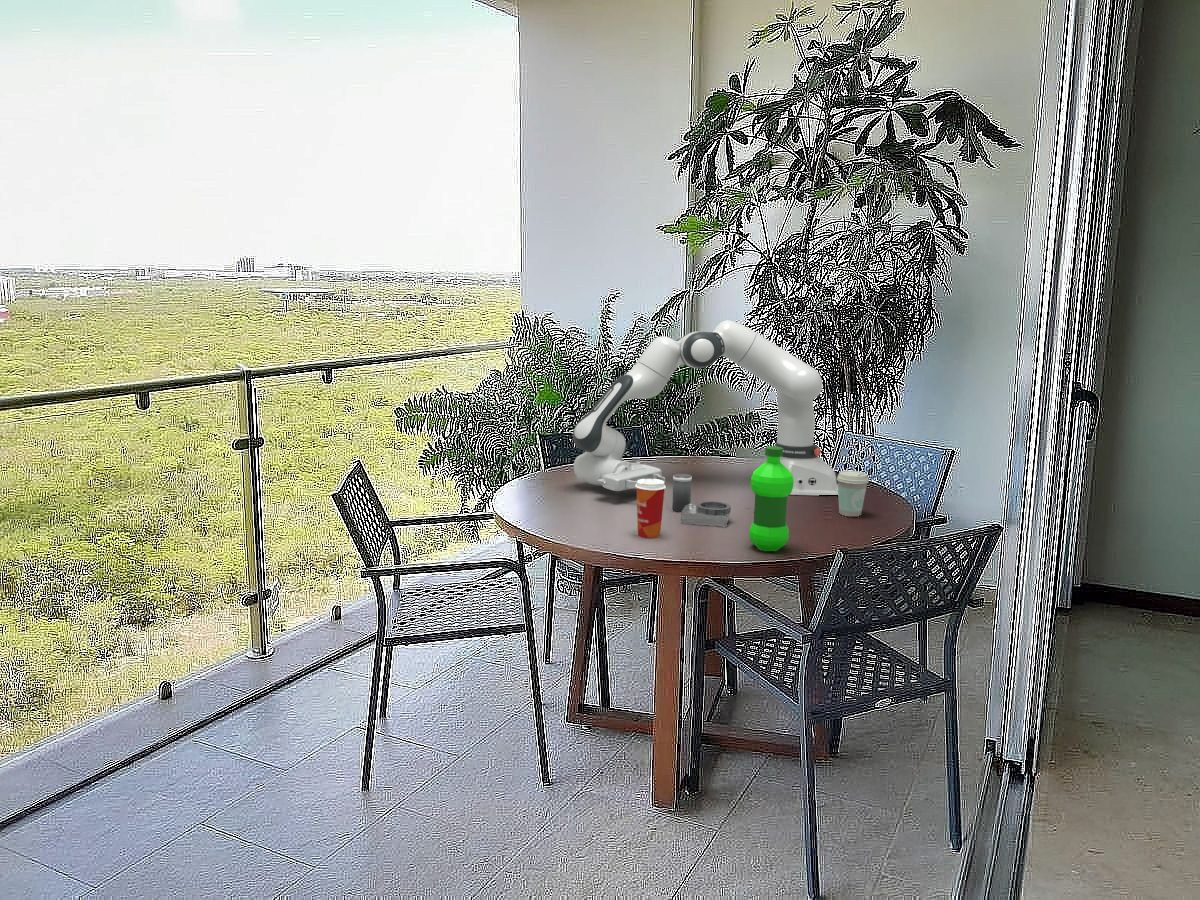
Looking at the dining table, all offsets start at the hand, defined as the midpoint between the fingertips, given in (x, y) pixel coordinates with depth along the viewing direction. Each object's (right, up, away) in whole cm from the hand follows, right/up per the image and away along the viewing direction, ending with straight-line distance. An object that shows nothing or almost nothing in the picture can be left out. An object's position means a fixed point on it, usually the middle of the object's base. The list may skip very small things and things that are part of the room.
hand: (653, 483), depth 266 cm
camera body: (+13, -10, -17) cm, 23 cm away
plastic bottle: (+26, -15, -40) cm, 50 cm away
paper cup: (-3, -12, -31) cm, 33 cm away
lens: (+7, -7, -6) cm, 12 cm away
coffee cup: (+55, -9, -7) cm, 56 cm away
